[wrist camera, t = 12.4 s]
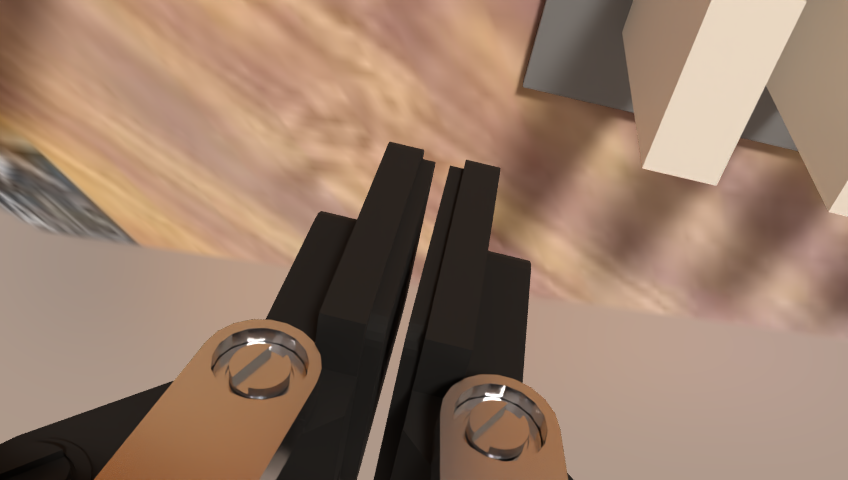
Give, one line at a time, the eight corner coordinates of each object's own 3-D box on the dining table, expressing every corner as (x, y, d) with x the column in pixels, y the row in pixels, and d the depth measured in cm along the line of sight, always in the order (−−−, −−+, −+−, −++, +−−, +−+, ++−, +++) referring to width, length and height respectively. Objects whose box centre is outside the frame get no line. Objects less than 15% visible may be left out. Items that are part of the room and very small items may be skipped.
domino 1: (621, 32, 28) (641, 168, 20) (671, -112, 25) (718, -19, 17) (675, 44, 28) (716, 185, 20) (731, -98, 25) (807, 1, 17)
